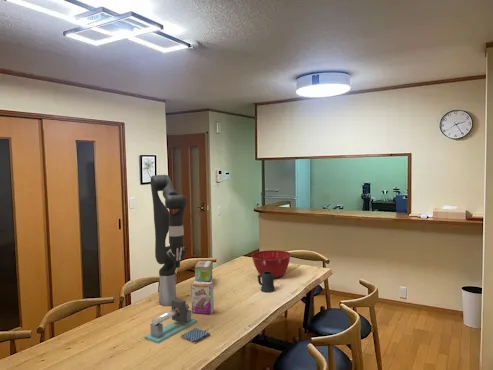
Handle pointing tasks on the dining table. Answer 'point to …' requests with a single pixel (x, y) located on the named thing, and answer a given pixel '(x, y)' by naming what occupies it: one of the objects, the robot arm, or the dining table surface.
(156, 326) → the pipe
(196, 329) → the woven mat
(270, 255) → the mixing bowl
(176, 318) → the tall grey rectangular prism
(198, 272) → the tea box
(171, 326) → the base board
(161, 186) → the robot arm
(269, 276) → the mug
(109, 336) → the dining table surface
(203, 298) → the candy bar box
